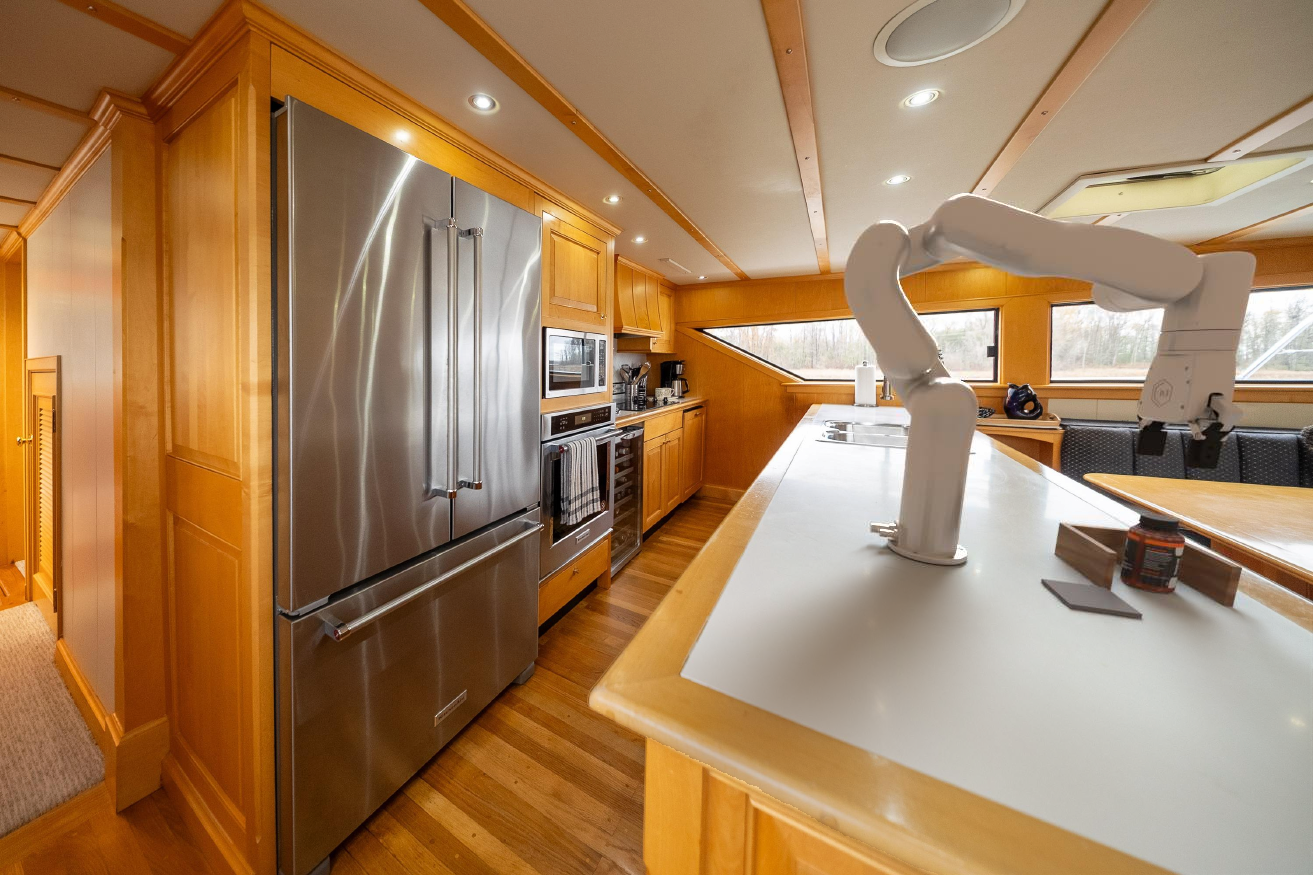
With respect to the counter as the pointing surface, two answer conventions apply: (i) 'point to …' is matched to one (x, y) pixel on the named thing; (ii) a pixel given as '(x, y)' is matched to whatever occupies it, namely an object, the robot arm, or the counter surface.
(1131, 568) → the supplement bottle
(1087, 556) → the angled wooden boards
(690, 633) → the counter surface
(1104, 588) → the mat
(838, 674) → the counter surface
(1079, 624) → the counter surface
